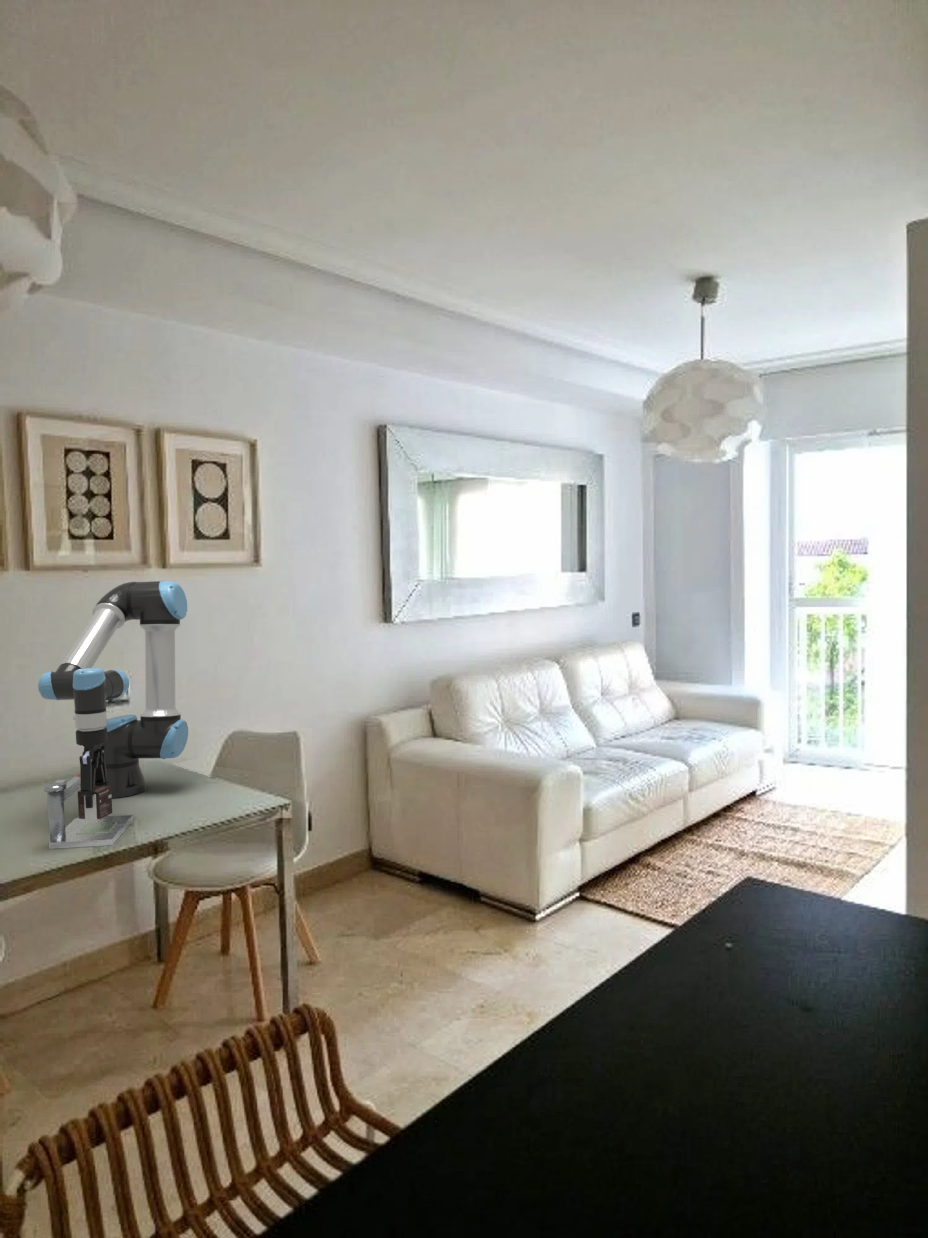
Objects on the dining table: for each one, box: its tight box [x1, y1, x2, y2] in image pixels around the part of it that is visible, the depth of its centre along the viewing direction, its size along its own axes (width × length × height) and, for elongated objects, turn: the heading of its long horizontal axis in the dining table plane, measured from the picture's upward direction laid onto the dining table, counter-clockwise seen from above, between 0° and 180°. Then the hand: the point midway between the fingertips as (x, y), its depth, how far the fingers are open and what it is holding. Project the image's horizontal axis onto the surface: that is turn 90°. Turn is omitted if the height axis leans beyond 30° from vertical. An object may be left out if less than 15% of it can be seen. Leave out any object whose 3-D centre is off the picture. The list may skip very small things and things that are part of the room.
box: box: [77, 786, 113, 819], centre depth 220 cm, size 6×6×7 cm
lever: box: [43, 773, 81, 803], centre depth 220 cm, size 23×5×5 cm, turn 7°
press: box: [46, 790, 134, 850], centre depth 220 cm, size 20×15×14 cm
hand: (95, 815), depth 220 cm, fingers closed on box, 7 cm apart
